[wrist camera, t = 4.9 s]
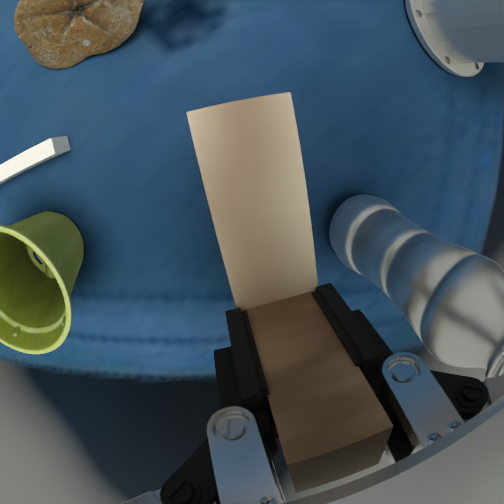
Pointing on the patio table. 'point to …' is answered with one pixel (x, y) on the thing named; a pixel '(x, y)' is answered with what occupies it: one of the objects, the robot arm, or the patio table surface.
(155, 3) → the patio table surface
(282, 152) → the scraper
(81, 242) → the plant pot
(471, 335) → the plastic bottle
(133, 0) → the fossil
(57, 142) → the bay
